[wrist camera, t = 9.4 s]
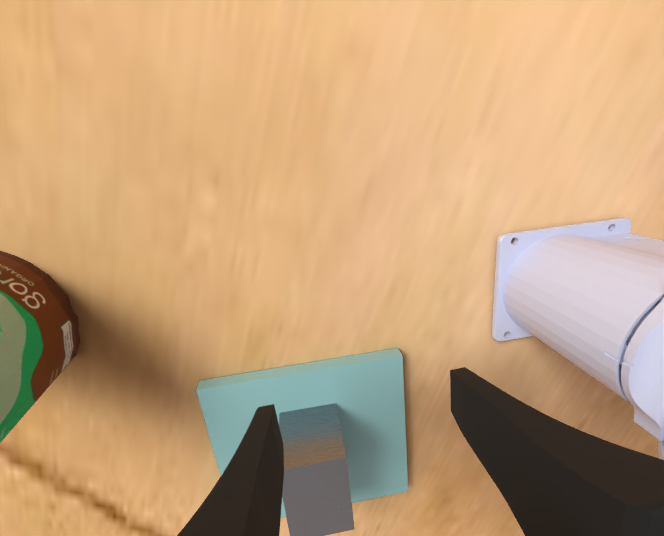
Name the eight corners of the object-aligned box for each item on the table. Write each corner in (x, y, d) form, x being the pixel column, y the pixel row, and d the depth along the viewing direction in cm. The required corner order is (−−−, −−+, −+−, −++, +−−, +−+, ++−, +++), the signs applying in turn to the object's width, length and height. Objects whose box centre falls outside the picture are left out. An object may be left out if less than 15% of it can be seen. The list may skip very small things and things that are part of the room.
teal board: (397, 347, 23) (402, 355, 22) (404, 480, 27) (408, 491, 26) (199, 380, 22) (195, 390, 21) (237, 513, 26) (235, 526, 25)
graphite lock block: (335, 403, 23) (346, 457, 19) (343, 466, 25) (354, 529, 20) (279, 412, 22) (276, 470, 18) (291, 476, 24) (291, 542, 20)
